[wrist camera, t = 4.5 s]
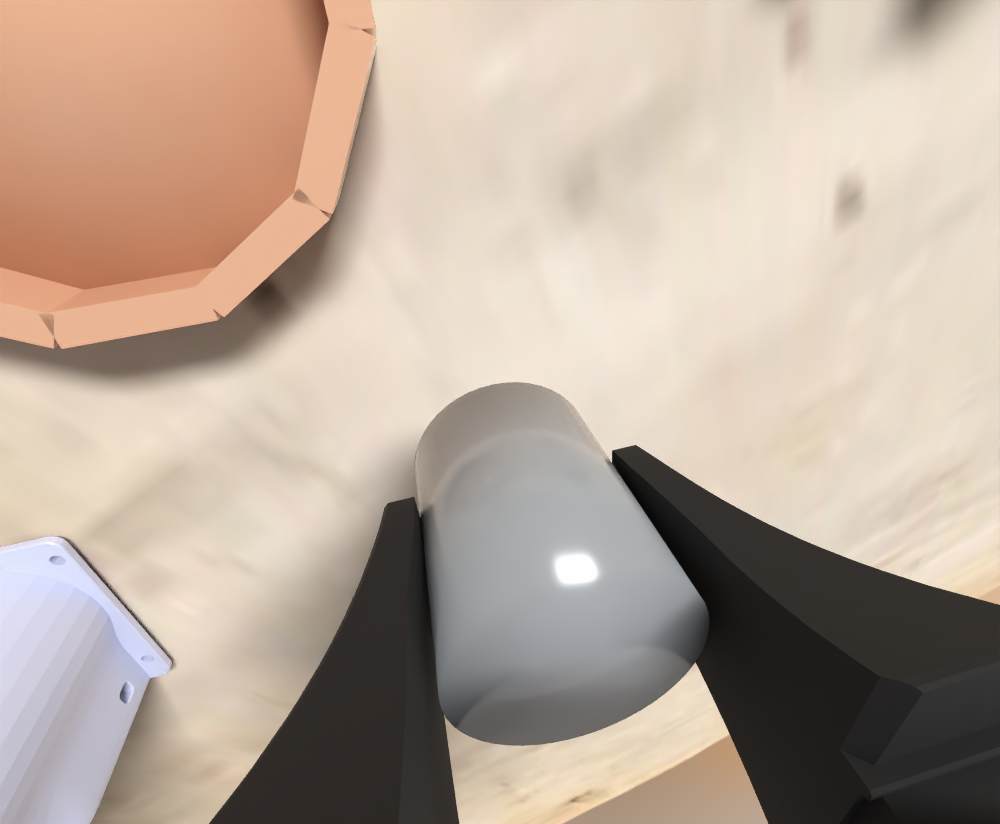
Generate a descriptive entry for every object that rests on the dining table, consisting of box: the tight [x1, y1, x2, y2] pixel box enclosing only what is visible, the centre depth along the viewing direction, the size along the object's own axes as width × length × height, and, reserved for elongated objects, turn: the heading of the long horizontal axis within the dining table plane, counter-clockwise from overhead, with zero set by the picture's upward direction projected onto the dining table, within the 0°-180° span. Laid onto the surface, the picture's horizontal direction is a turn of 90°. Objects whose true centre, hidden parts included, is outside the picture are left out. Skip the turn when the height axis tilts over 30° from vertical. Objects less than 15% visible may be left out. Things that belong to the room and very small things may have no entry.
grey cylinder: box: [415, 382, 710, 746], centre depth 11 cm, size 5×5×6 cm
